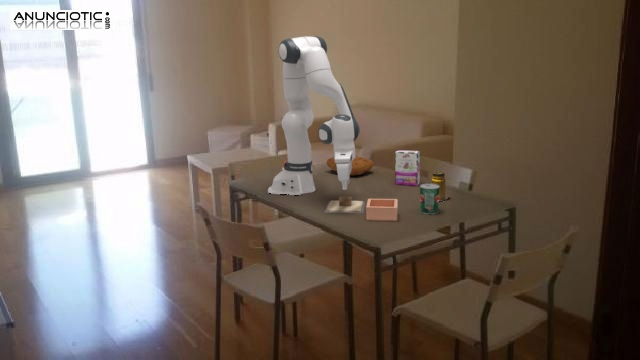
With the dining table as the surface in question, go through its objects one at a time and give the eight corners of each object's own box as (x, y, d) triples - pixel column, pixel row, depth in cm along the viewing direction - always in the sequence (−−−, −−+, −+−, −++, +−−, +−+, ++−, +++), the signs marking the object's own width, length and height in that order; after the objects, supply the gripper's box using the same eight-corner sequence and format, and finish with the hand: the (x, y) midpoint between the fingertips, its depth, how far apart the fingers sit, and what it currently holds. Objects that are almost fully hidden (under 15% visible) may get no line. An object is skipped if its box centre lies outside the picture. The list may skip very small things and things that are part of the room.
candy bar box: (419, 183, 291) (420, 150, 287) (417, 186, 287) (418, 152, 282) (397, 182, 295) (397, 149, 291) (394, 184, 291) (394, 151, 287)
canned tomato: (442, 213, 246) (443, 187, 243) (424, 215, 244) (425, 189, 241) (433, 207, 253) (434, 182, 250) (416, 209, 251) (416, 184, 248)
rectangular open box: (366, 221, 238) (366, 207, 236) (368, 212, 249) (368, 198, 248) (396, 222, 236) (397, 207, 234) (397, 213, 247) (397, 199, 246)
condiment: (427, 199, 265) (427, 173, 262) (436, 195, 271) (437, 169, 268) (441, 202, 261) (442, 175, 258) (451, 198, 267) (452, 171, 264)
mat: (324, 213, 249) (324, 212, 249) (329, 202, 264) (329, 201, 264) (362, 214, 247) (362, 213, 246) (365, 203, 262) (365, 202, 262)
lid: (326, 211, 249) (326, 201, 248) (331, 202, 263) (330, 192, 262) (360, 212, 247) (360, 202, 246) (363, 202, 261) (362, 193, 260)
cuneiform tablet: (324, 172, 318) (323, 157, 316) (346, 167, 329) (346, 152, 327) (354, 179, 302) (353, 164, 300) (377, 173, 314) (377, 158, 312)
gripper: (339, 149, 259) (341, 180, 263) (334, 159, 240) (335, 193, 243) (354, 149, 258) (355, 180, 262) (349, 159, 239) (351, 192, 242)
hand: (346, 186), depth 252 cm, fingers open, 8 cm apart
